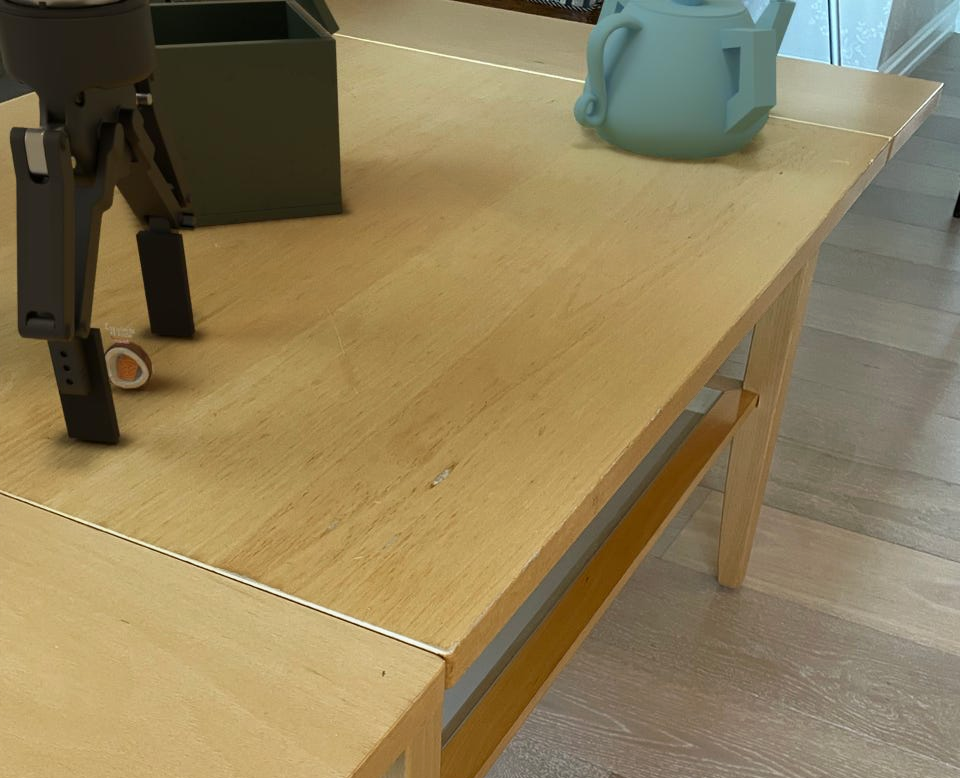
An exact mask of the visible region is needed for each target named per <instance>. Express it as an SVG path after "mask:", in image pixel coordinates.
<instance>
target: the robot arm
mask: <svg viewBox="0 0 960 778" xmlns="http://www.w3.org/2000/svg"><path fill="white" fill-rule="evenodd" d="M0 55H1V58H2V64H3V68H4V70H5V72H6V73H7V75H8V76H9V77H10V78H12V80H14V81H16V82H17V83H19V84H21V85H26V86H27V87H29V88H30V89H31V90H32V91H33V92H34V93H35V94H36V95H37V97H38V109H39V126H38V127H22V126H13V127H12V128H10V132H9V145H10V146H9V147H10V151H11V157H12V163H13V170H14V175H15V196H16V197H15V204H16V205H15V207H16V209H15V210H16V217H15V218H16V298H17V299H16V304H17V305H16V308H17V310H16V312H17V313H16V314H17V318H16V319H17V322H16V323H17V331H18V334H19V336H20V338H22V339H30V340H42V341H46V342H47V346H48V350H49V355H50V359H51V364H52V368H53V373H54V377H55V382H56V386H57V391H58V395H59V400H60V405H61V409H62V414H63V417H64V422H65V427H66V431H67V435H68V439H75V440H84V441H85V440H87V441H97V442H105V443H106V442H107V443H116V442H117V441H118V440H119V438H120V437H121V433H120V427H119V423H118V418H117V417H118V416H117V412H116V406H115V401H114V397H113V391H112V385H111V382H110V379H109V375H108V369H107V364H106V359H105V354H104V353H105V350H104V344H103V343H104V342H103V338H102V332H101V328H99V327H92V326H91V323H92V313H93V306H94V305H93V304H94V297H95V296H94V294H95V285H96V276H97V266H98V257H99V248H100V240H101V230H102V229H101V228H102V222H103V221H102V220H103V214H104V213H106V212H107V211H108V210H110V209H111V208H112V206H113V204H114V197H115V196H114V195H115V188H117V190H118V191H119V193H120V194H121V195H122V197H123V199H124V200H125V202H126V203H127V205H128V206H129V208H130V210H131V211H132V213H133V214H134V216H135V217H136V219H137V220H138V222H139V224H140V225H141V226H142V227H143V228H145V227H149V231H146V230H142V229H141V230H139V231H138V232H136V233H135V239H136V246H137V251H138V252H137V253H138V257H139V264H140V265H139V266H140V270H141V276H142V277H141V278H142V283H143V288H144V296H145V302H146V308H147V314H148V321H149V326H150V327H149V328H150V333H151V334H155V335H166V336H177V337H188V338H193V336H194V334H195V333H196V327H195V320H194V319H195V318H194V313H193V305H192V297H191V288H190V283H189V274H188V266H187V259H186V252H185V245H184V237H183V233H180V231H188V232H189V231H192V232H194V231H195V230H196V215H195V212H191V211H183V210H182V209H190V208H191V205H192V201H193V198H192V194H191V190H190V187H189V184H188V181H187V178H186V175H185V172H184V169H183V166H182V163H181V160H180V158H179V155H178V152H177V149H176V146H175V143H174V140H173V137H172V134H171V131H170V128H169V125H168V122H167V119H166V116H165V113H164V110H163V107H162V104H161V100H160V95H159V89H158V83H157V78H156V72H155V68H156V66H157V55H156V48H155V40H154V33H153V25H152V18H151V10H150V0H0ZM167 183H168V184H172V186H173V187H169V186H168V184H167Z"/></svg>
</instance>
